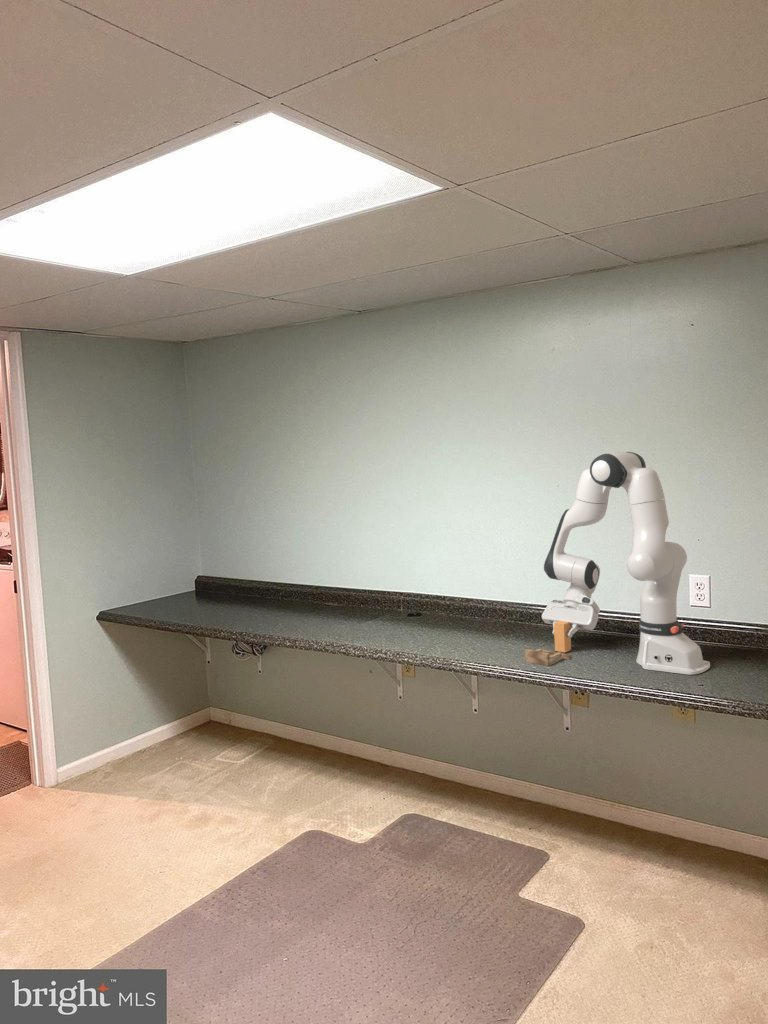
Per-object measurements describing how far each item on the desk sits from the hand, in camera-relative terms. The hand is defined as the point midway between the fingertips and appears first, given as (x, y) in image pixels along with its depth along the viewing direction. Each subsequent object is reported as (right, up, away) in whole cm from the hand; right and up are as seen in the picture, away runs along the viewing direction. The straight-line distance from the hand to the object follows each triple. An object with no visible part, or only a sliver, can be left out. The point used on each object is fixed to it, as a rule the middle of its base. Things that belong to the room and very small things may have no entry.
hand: (561, 635), depth 270 cm
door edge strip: (-3, -6, -4) cm, 8 cm away
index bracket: (-8, -7, -9) cm, 14 cm away
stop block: (+1, -5, +1) cm, 5 cm away
